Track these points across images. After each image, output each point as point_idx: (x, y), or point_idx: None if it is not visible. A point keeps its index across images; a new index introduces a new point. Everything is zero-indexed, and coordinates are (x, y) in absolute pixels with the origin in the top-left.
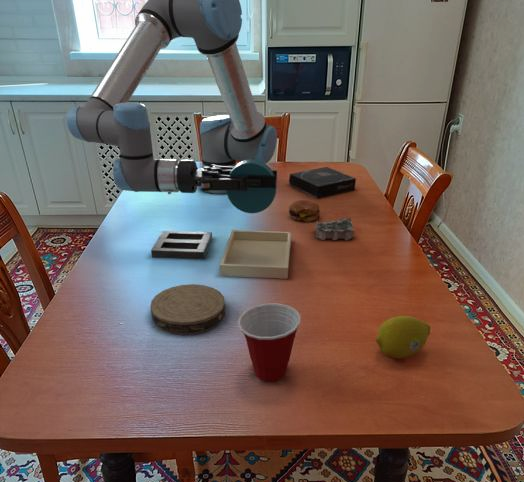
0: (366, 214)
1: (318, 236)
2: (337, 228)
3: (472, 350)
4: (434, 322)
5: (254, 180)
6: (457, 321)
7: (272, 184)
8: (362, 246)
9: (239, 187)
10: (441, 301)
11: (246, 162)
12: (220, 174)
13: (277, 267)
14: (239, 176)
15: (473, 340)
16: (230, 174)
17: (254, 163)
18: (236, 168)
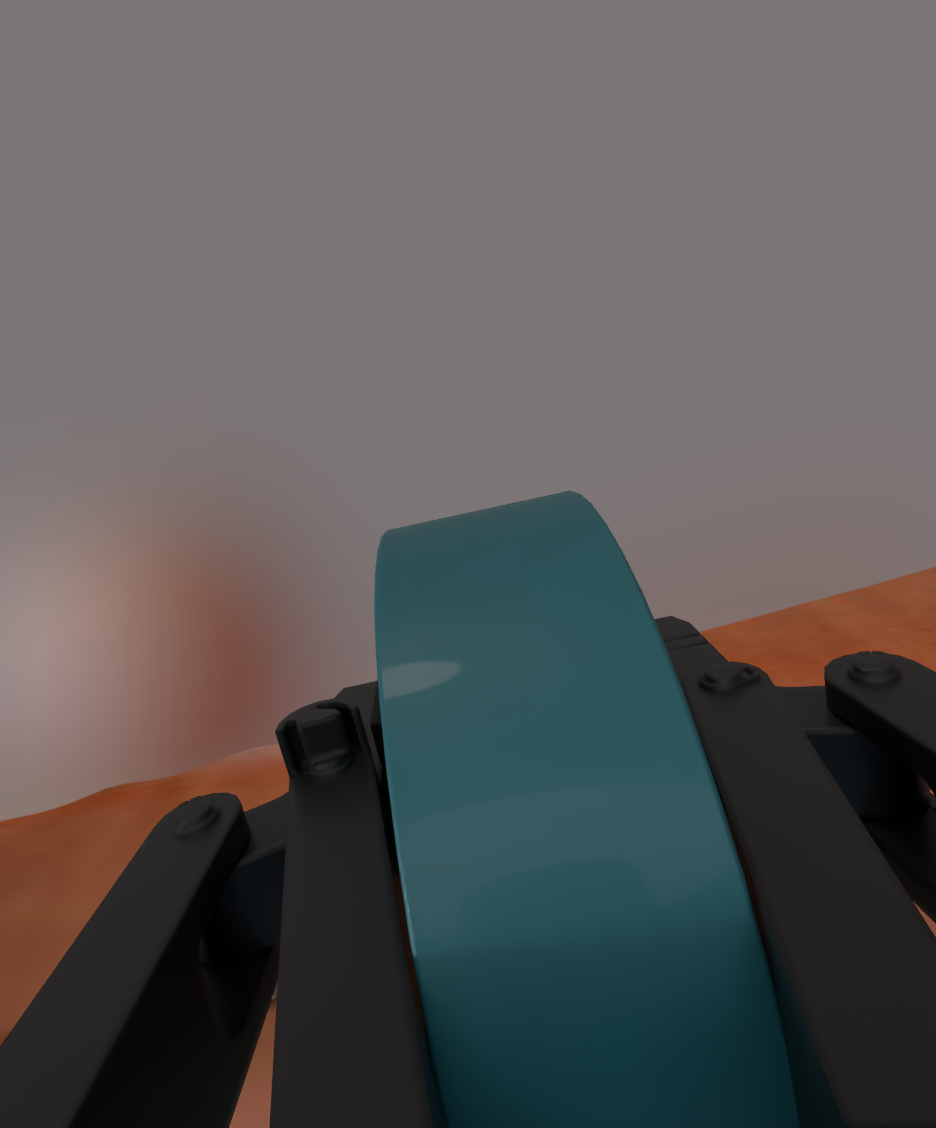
0: (41, 866)
1: (277, 984)
2: None
3: (915, 586)
4: (843, 631)
5: (709, 644)
6: (802, 612)
7: None
8: None
9: (929, 789)
10: (718, 639)
11: (544, 529)
12: (884, 1112)
13: None
14: (745, 725)
15: (869, 590)
16: (732, 858)
17: (567, 492)
18: (669, 661)
